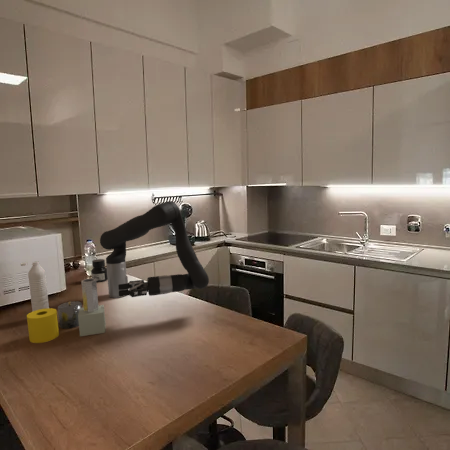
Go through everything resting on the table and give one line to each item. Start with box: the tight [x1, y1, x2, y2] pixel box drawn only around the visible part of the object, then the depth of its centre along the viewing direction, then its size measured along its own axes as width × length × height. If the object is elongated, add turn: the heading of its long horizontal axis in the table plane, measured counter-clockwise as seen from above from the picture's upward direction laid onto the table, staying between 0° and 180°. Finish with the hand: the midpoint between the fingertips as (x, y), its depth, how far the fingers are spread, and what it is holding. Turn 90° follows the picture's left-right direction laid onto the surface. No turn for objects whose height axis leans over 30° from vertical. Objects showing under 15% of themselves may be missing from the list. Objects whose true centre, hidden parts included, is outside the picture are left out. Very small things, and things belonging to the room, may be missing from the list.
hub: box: [57, 300, 83, 329], centre depth 146 cm, size 9×9×10 cm
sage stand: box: [78, 304, 107, 337], centre depth 139 cm, size 9×9×10 cm
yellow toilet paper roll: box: [26, 307, 60, 344], centre depth 134 cm, size 10×10×9 cm
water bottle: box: [20, 261, 50, 312], centre depth 152 cm, size 9×6×25 cm
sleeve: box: [81, 277, 99, 313], centre depth 138 cm, size 5×5×12 cm
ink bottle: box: [90, 258, 108, 283], centre depth 208 cm, size 10×9×12 cm
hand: (118, 290), depth 141 cm, fingers open, 8 cm apart
